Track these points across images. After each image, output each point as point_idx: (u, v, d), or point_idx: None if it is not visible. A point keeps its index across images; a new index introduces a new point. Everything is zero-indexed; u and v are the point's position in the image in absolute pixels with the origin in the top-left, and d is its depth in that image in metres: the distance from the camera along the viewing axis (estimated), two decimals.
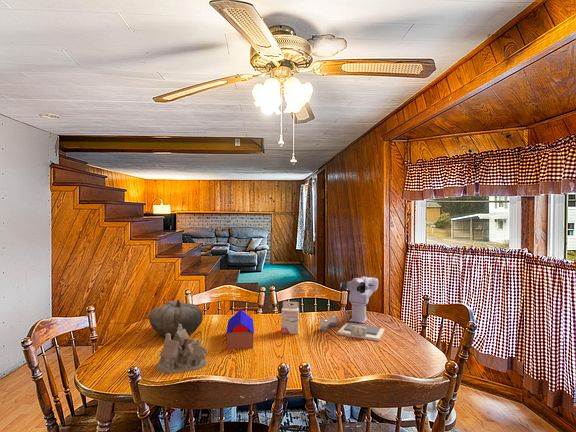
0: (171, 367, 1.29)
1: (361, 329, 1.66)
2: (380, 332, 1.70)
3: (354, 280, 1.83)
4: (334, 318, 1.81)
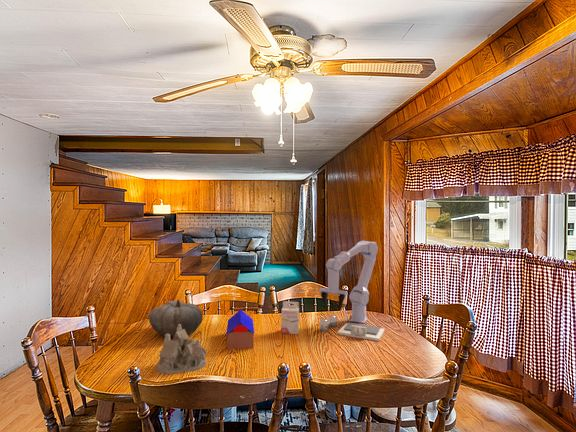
0: (171, 367, 1.29)
1: (361, 329, 1.66)
2: (380, 332, 1.70)
3: (331, 292, 1.80)
4: (334, 318, 1.81)
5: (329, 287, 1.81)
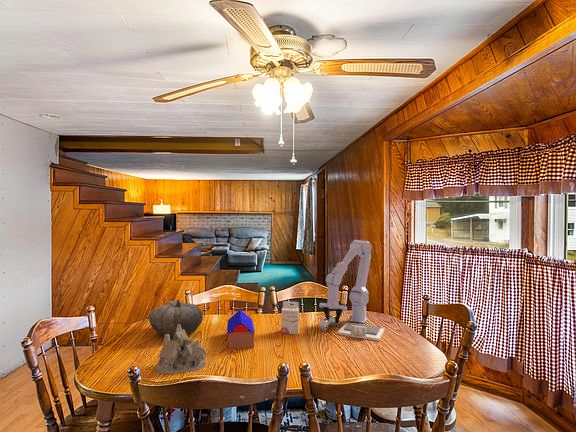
0: (170, 368, 1.29)
1: (361, 329, 1.66)
2: (380, 332, 1.70)
3: (331, 308, 1.80)
4: (334, 318, 1.81)
5: (329, 302, 1.81)
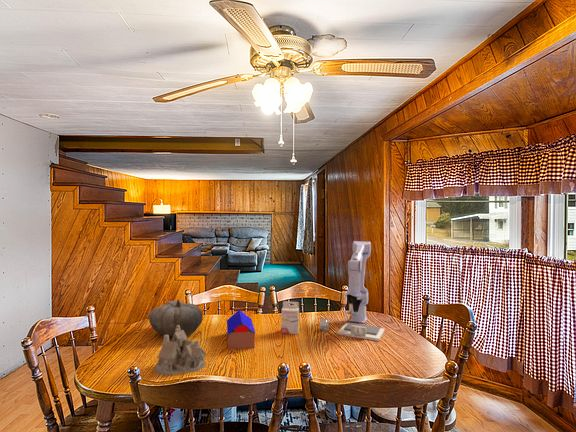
0: (169, 369, 1.28)
1: (361, 329, 1.66)
2: (380, 332, 1.70)
3: None
4: (351, 306, 1.76)
5: None
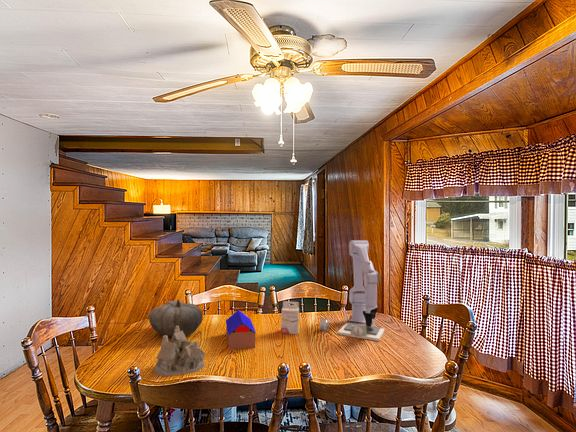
0: (169, 370, 1.27)
1: (361, 329, 1.66)
2: (380, 332, 1.70)
3: None
4: None
5: None
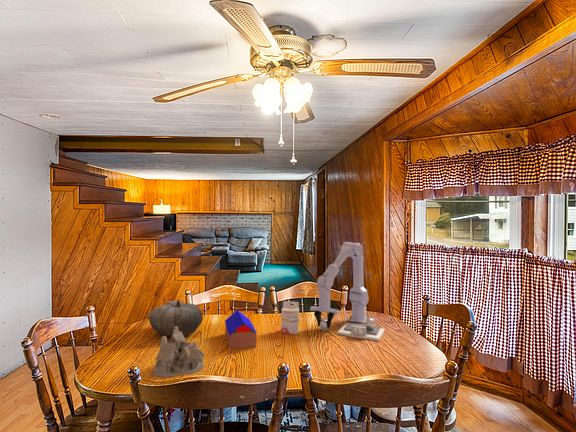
0: (168, 371, 1.26)
1: (361, 329, 1.66)
2: (380, 332, 1.70)
3: (322, 311, 1.74)
4: None
5: (320, 305, 1.75)
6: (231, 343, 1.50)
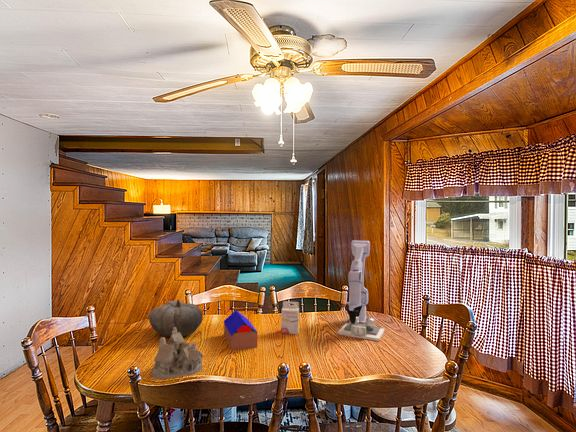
0: (166, 372, 1.25)
1: (361, 329, 1.66)
2: (380, 332, 1.70)
3: None
4: None
5: None
6: (232, 343, 1.50)
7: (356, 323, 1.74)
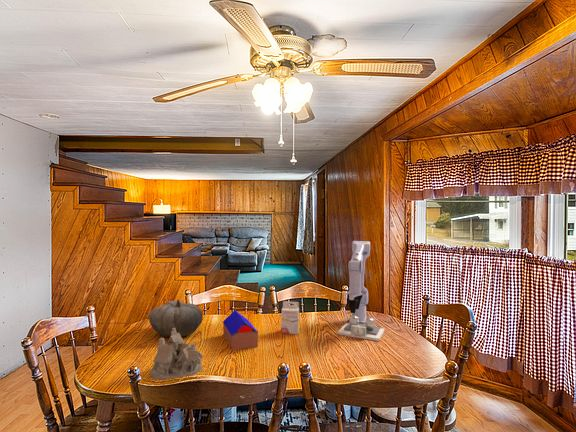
0: (166, 373, 1.25)
1: (361, 329, 1.66)
2: (380, 332, 1.70)
3: None
4: None
5: None
6: (233, 343, 1.50)
7: (356, 323, 1.74)
